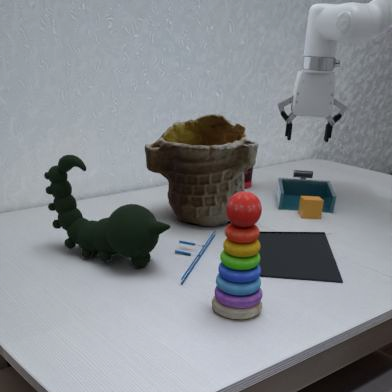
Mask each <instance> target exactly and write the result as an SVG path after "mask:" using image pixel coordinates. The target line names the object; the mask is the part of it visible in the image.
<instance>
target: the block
mask: <svg viewBox="0 0 392 392" xmlns="http://www.w3.org/2000/svg"><path fill="white" fill-rule="evenodd" d="M323 203H324V200H323V199H321V198H320V197H318V196H300V203H299V210H298V211H297V213H298V215H299V216H300V218H301V219H306V220H307V219H309V220H322V215H323V212H322V209H323Z"/></svg>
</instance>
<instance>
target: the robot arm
mask: <svg viewBox="0 0 392 392" xmlns="http://www.w3.org/2000/svg"><path fill="white" fill-rule="evenodd" d="M390 29H392V0H371V1H370V2H369V1H368V3H367V2H365V3H364V2H353V1H351V2H343V3H338V4H337V3H315V4H312V5H311V6H310V8H309V10H308V16H307V24H306V32H305V40H304V48H303V49H304V50H303V56H302V62H301V63H302V64H301V70H297V71H298V72H297V74H296V77H295V81H294V86H293V91H292V96H290V97H288V98H286V99H283V100H282V101H280V102H278V103H277V109H278V111H279V114H280V116H281V118H282V119H283V120H284V122H285V131H284V136H285V137H286V140H287V141H291V140H292V132H293V126H294V125H293V121H294V120H295V118H296V117H309V118H310V117H312V118H325V119H326V121H327V124H325V129H324V135H323V141H324V142H325V143H329V139H332V135H333V129H334V126H335V124H336V123H338V122H339V121H340V120H341V119H342V117H343V115H344V114H345V113H346V111H347V110H348V107H347V106H346V105H345V104H344V103H342V102H341V101H339V100H337V99H336V98H335V93H336V72H334V70H335V69H336V68H340V66H341V60H338V59H336V54H337V46H338V42H341V43H367V42H370V41H372V40H374V39H375V38H377V37H379V36H381V35H382V34H384V33H386V32H387V31H389V30H390ZM288 105H290V111H291V112H290V113H289V114H287V113H286V111H285V107H287V106H288ZM334 106H335V107H336V108H338V112H337V113H336V114H335V115H334V116H332V114H333V111H334V110H333V109H334Z"/></svg>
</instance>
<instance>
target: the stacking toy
mask: <svg viewBox="0 0 392 392" xmlns="http://www.w3.org/2000/svg"><path fill="white" fill-rule="evenodd" d="M262 211H263V205H262V203H261V200H260V199H259V197H258V196H257V195H256V194H255V193H253V192H251V191H246V190H245V191H242V192H238V193H236V194H234V195H233V196H232V197H231V198H230V199H229V201H228V203H227V206H226V214H227V217H228V219H229V221H228V222H230V223H228V224H227V225H226V227H225V229H224V235H225V237H226V238H225V239H224V241H223V244H222V247H223V250H222V251H221V253H220V257H219V258H220V262H219V264H218V268H217V269H218V274H217V275H216V277H215V284H216V286H215V288H214V296H213V297H212V300H211V306H212V308H213V310H214V311H215V313H217V314H218V315H219V316H222V317H224V318H227V319H231V320H248V319H251V318H254V317H256V316H257V315H258V314H260V313H261V311H262V310H263V302H262V298H263V290H262V288H261V286H262V278H261V277H259V276H260V273H261V268H260V266H259V262H260V255H259V253H258V252H259V250H260V242H259V241H258V240H257V238H258V237H259V234H260V229H259V226H258V225H256V224H257V223H258V221H259V220H260V218H261V216H262Z"/></svg>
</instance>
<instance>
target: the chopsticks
mask: <svg viewBox="0 0 392 392" xmlns="http://www.w3.org/2000/svg"><path fill="white" fill-rule="evenodd" d="M215 233H216V229H214V230H213V231H212V233H211V235H210V236H209V237H208V239H207V240H206V242H205V243H204V244H202V245H200V244H199V246H201V247H202V248H201V249H200V250H199V252H198V253H197V254H196V255H195V257H194V259H193V260H192V262H191V264H190V265H189V266H188V268H187V269H186V271H185V272H184V274H183V275H182V276H181V277H180V280H181V282H180V285H181V286H182V285H183V284H184V283H185V281H186V279H187V278H188V277H189V275H190V274H191V272H192V270H193V269H194V267H195V266H196V264H198V261H199V260H200V258H201V257H202V256H203V254H204V253H205V251H206V249H207V248H208V247H209V245H210V244H211V242H212V241H213V239H214V238H215V237H216V234H215ZM178 243H179V244H182V245H189V246H194V247H195V246H197V244H196V243H195V242H192V241H191V242H190V241H185V240H179V242H178ZM174 253H175V254H181V255H187V256H191V255H193V256H194V254H192V252H188V251H183V250H178V249H175V250H174Z"/></svg>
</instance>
